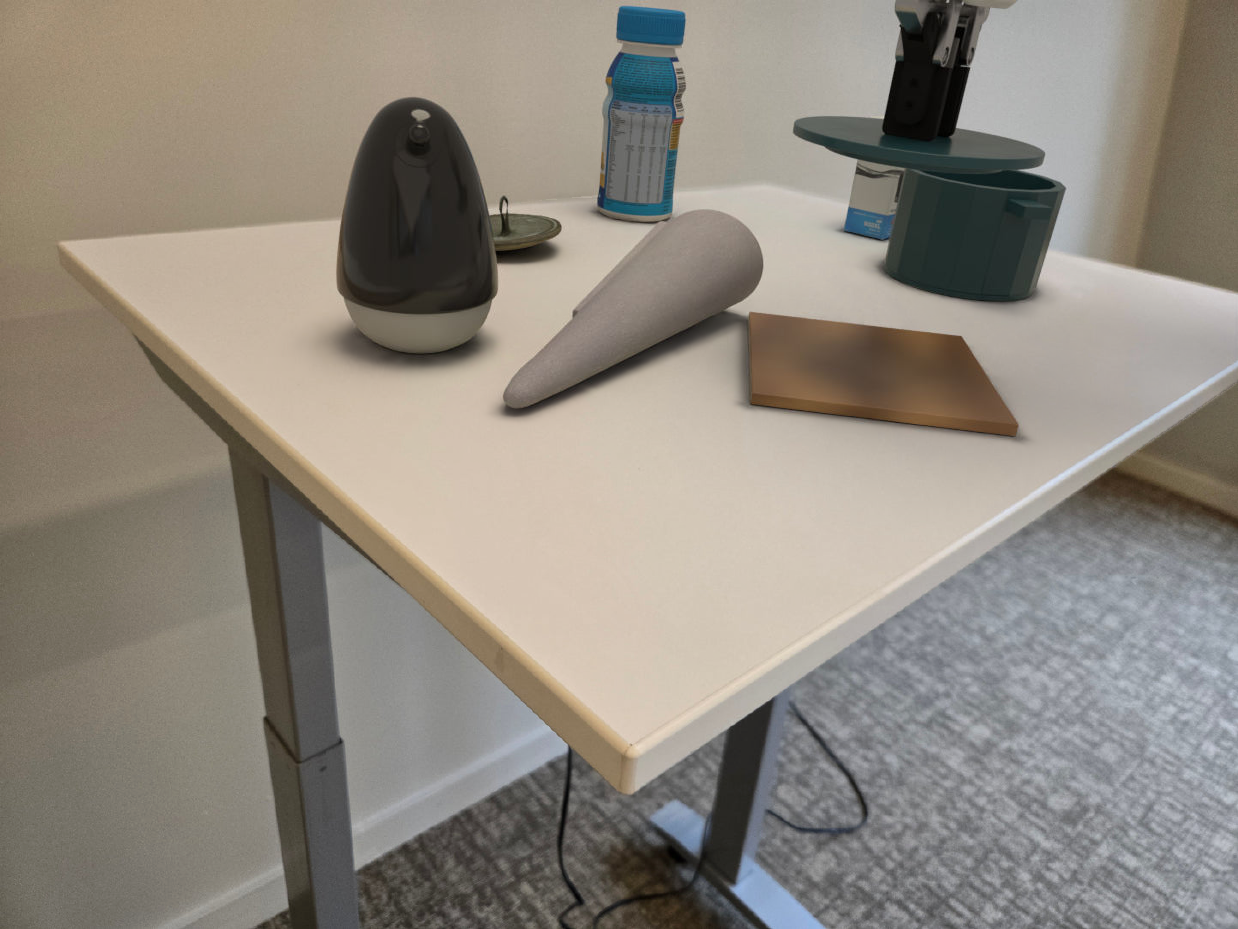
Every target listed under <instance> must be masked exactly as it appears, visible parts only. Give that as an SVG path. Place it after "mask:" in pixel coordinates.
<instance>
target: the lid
mask: <svg viewBox="0 0 1238 929" xmlns="http://www.w3.org/2000/svg"><path fill="white" fill-rule="evenodd" d="M504 202H505V204H506V212H505V213H504V212H503V207H504V205H503V204H504ZM508 208H509V200H508V197H507V196H506V195H502V196H501V198H499V207H498V211H499V213H497V214H495V213H494V214H489V216H490V220H491V225H492V231H493V237H494V243H495V251H496V252H500V251H502V252H503V251H513V250H520V249H524V248H531V247H534V246H538V245H540V244H542V243H544V242H546V241H547V242H548V241H550V240H552V239H554V238H557V236H558V235H560V233H561V232H562V229H563V228H562V227H563V225H562V223H561V222H560V220H558V219H556V218H553V217H549V216H544V215H539V214H528V213H527V214H524V213H511V212H509V209H508Z"/></svg>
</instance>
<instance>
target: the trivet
mask: <svg viewBox="0 0 1238 929" xmlns="http://www.w3.org/2000/svg"><path fill="white" fill-rule="evenodd" d="M747 336H748V365H749V395H750V396H749V398H750V404H751V405H755V406H764V407H770V408H771V407H772V408H778V409H779V408H780V409H790V410H796V411H805V412H813V413H814V412H815V413H821V414H829V415H836V416H837V415H838V416H846V417H854V418H861V419H862V418H863V419H873V420H877V421H886V422H896V423H904V424H912V425H920V426H928V427H937V428H944V429H954V430H961V431H962V430H963V431H968V432H976V433H977V432H979V433H988V434H993V435H994V434H996V435H1003V436H1010V437H1011V436H1012V437H1016V435H1017V432H1018V430H1019V426H1020V424H1019V423H1018V421H1017V420H1016V418H1015V416H1014V415H1013V413H1012V412H1011V410H1010V408H1009V407H1008V405H1007V403H1005V401H1004V400H1003V397H1002V396H1001V395H1000V393H999V392H998V390H997V389H996V387H995V385H994V384H993V382H992V381H991V379H990V378H989V376H988V375H987V373H986V372H985V369H984V368H983V366H982V365H981V363H980V362H979V361H978V359H977V358H976V356H975V355H974V353H973V351H972V350H971V348H970V347H969V345H968V344H967V341H966V340H965V339H964V337H963V336H962V335H956V334H949V333H938V332H930V331H923V330H922V331H921V330H915V329H914V330H913V329H904V328H896V327H895V328H894V327H886V326H878V325H871V324H862V323H861V324H860V323H851V322H845V321H844V322H843V321H834V320H827V319H826V320H825V319H816V318H807V317H799V316H791V315H781V314H774V313H765V312H757V311H749V312H748V319H747Z"/></svg>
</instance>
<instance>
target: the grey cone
mask: <svg viewBox="0 0 1238 929" xmlns="http://www.w3.org/2000/svg"><path fill="white" fill-rule="evenodd" d="M763 272H764V255H763V252H762V248H761V246H760V243H759V241H758V239H757V238H756V236H755V235H754V233H753V232H752V231H751V229H750V228H749V227H748V226H746V225H745V224H744V223H743V222H742V221H740V220H739V219H738V218H736V217H734V216H733V215H730V214H729V213H727V212H724V211H720V210H715V209H709V208H708V209H707V208H706V209H705V208H703V209H702V208H700V209H694V210H689V211H686V212H684V213H681V214H679V215H677V216H676V217H674V218H673V219H671V220H670V221H664V220H661V221H657V223H656V224H655V225H654V226H653V228H651V229H650V230H649V232H647V233H646V234H645V235H644V237H643V238H641V240H640V241H639V242H637V244H635V245H634V247H633V248H632V249H631V250H629V252H628V253H627V254H626V255H625V256H624V257H623V258H622V259H621V260H620V261H619V262H618V263H617V264H616V265H615V266H614V267H613V268H612V269H611V270H610V272H608V273H607V274H606V276H604V277H603V278H602V280H601V281H600V282H598V284H597V285H596V286H594V288H593V289H592V290H591V291H590V292H589V293H587V295H586V296H585V297H584V298H583V299H581V301H580V302H579V303H578V304H577V305H576V306H575V307H574V309H573V310H572V318H571V319H570V320H569V322H567V323H566V324H565V325H564V326H563V327H562V328H561V329H560V330H559V331H558V332H557V333H556V334H555V335H554V336H553V337H552V338H551V340H549V341H548V342H547V343H546V344H545V345H544V346H543V348H541V349H540V350H539V351H538V352H537V353H536V354H535V355H534V356H533V357H532V358H531V359H530V360H528V362H526V363H525V364H524V365H523V366H522V367H520V368H519V369H518V371H517V372H516V373H515V374H514V375H513V377H512V378H511V379H510V381H509V382H508V384H507V386H506V387H505V389H504V391H503V394H502V399H503V403H505V405H506V406H507V407H510V408H512V409H523V408H527V407H529V406H532V405H534V404H537V403H539V402H541V401H543V400H545V399H548V398H550V397H552V396H555V395H556V394H559V393H560V392H563V391H565V390H567V389H569V388H571V387H573V386H575V385H577V384H579V383H581V382H583V381H586V379H589V378H591V377H593V376H595V375H598V374H599V373H601V372H603V371H605V370H607V369H609V368H611V367H613V366H615V365H617V364H619V363H621V362H623V361H625V360H627V359H629V358H631V357H633V356H635V355H638V354H639V353H641V352H643V351H645V350H647V349H649V348H651V347H652V346H654V345H657V344H659V343H660V342H662V341H664V340H667V339H669V338H670V337H672V336H675V335H677V334H679V333H681V332H684V331H685V330H687V329H689V328H691V327H693V326H694V325H696V324H698V323H700V322H703V321H704V320H707V319H709V318H711V317H714V316H715V315H717V314H719V313H721V312H723V311H725V310H727V309H729V308H731V307H734V306H736V305H737V304H739V303H742V302H743V301H744V300H746V299H747V298H749V296H751V295H752V294H753V293H754V292H755V291H756V289H757V288H758V286H759V284H760V282H761V279H762V276H763Z"/></svg>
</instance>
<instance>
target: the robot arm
mask: <svg viewBox="0 0 1238 929" xmlns="http://www.w3.org/2000/svg"><path fill="white" fill-rule="evenodd" d="M947 1H948V2H947ZM1017 2H1018V0H895V2H894V13H895V16H896V18H897V20H898V22H899V23H900V24H899V28H900V30H899V33H898V38H897V43H896V47H895V53H894V59H895V63H894V66H893V67H894V68H893V72H892V73H893V74H892V78H891V83H890V86H889V92H888V96H887V102H886V107H885V111H884V115H883V116H884V120H883V125H882V131H883V132H884V133H885V134H887V135H893V136H899V137H905V138H911V139H916V140H922V141H931V140H934V139H935V138H936V136H940V137H950V136H952V135H953V134H954V133H955V129H956V128H957V125H958V121H959V117H960V112H961V109H962V104H963V101H964V96H965V91H966V88H967V84H968V80H969V76H970V72H971V65H972V63H973V61H974V59H975V58H974V57H975V55H976V51H977V50H976V49H977V46H978V41H979V37H980V33H981V30H982V26H983V25H984V23H985V22H986V21H987V20H988V18H989V16H990V11H991V9H998V10H999V9H1000V10H1006V9H1009V8H1011V7H1012V6H1013V5H1015V4H1016V3H1017ZM954 37H957V38H960V41H959V45H958V49H957V54H956V58H955V62H954V67H953V68H948V67H945V66H946V64H947V62H948V59H949V55H950V51H951V47H952V43H953V39H954ZM952 69H953V71H952ZM951 73H952V75H951ZM950 77H951V79H950ZM949 81H950V84H949ZM948 86H949V88H948ZM947 90H948V92H947ZM946 94H947V97H946ZM945 98H946V101H945ZM944 103H945V105H944ZM943 107H944V109H943ZM942 111H943V114H942ZM941 116H942V118H941ZM940 120H941V122H940ZM939 124H940V126H939ZM938 128H939V131H938ZM937 133H938V135H937Z"/></svg>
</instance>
